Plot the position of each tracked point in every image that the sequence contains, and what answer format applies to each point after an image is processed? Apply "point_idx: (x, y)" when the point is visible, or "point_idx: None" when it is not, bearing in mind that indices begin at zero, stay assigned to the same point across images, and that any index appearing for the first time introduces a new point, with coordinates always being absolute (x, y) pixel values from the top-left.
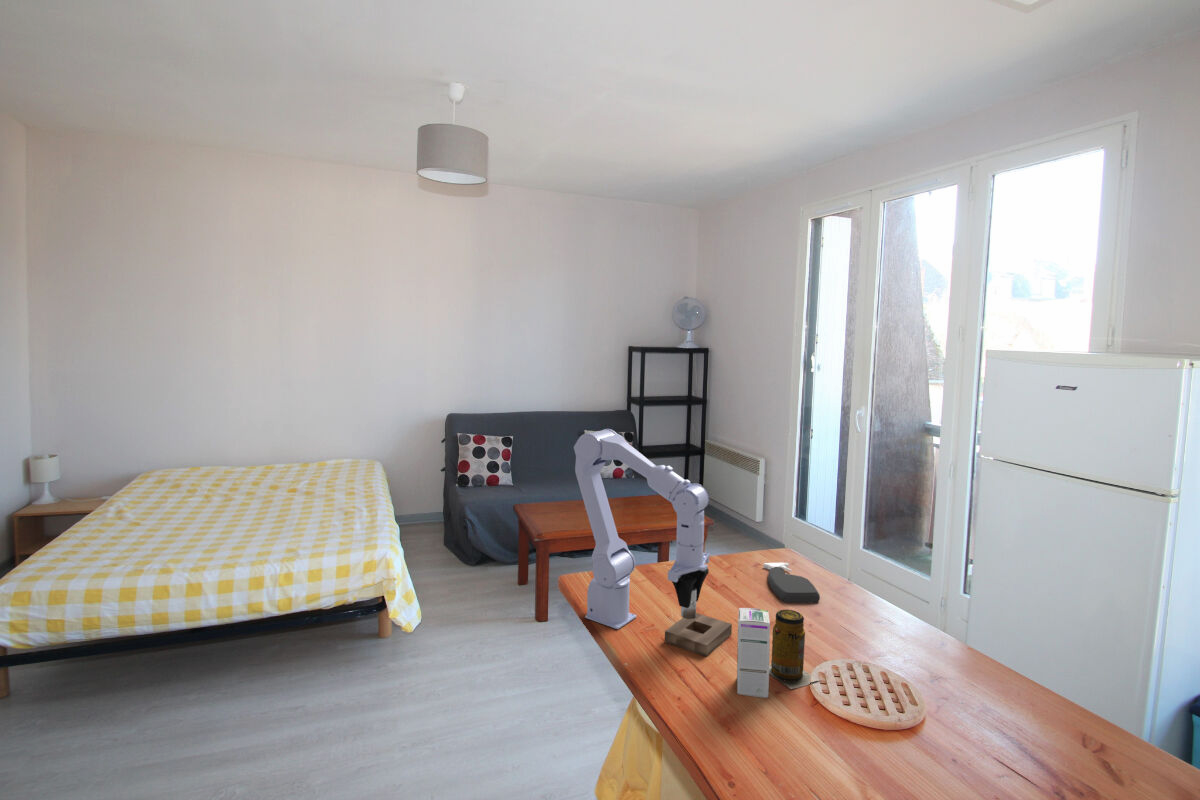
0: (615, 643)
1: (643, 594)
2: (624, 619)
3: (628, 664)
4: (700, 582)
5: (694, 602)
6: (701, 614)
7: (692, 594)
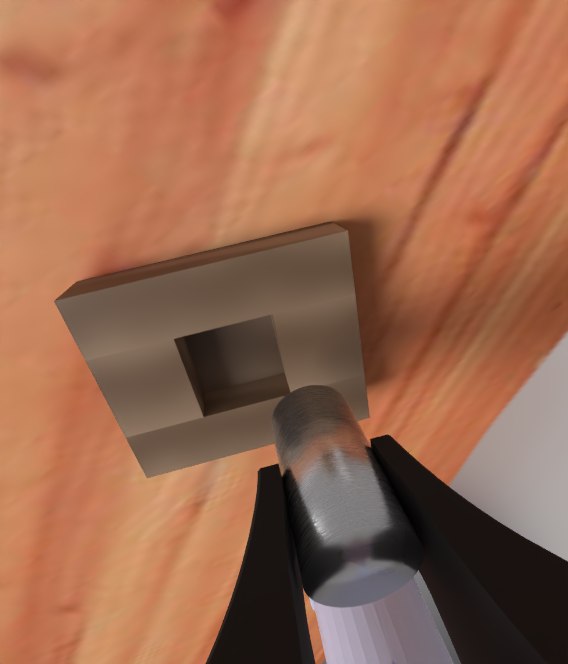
0: (461, 456)
1: (157, 623)
2: None
3: (542, 354)
4: (294, 610)
5: (341, 451)
6: (128, 441)
7: (386, 506)
